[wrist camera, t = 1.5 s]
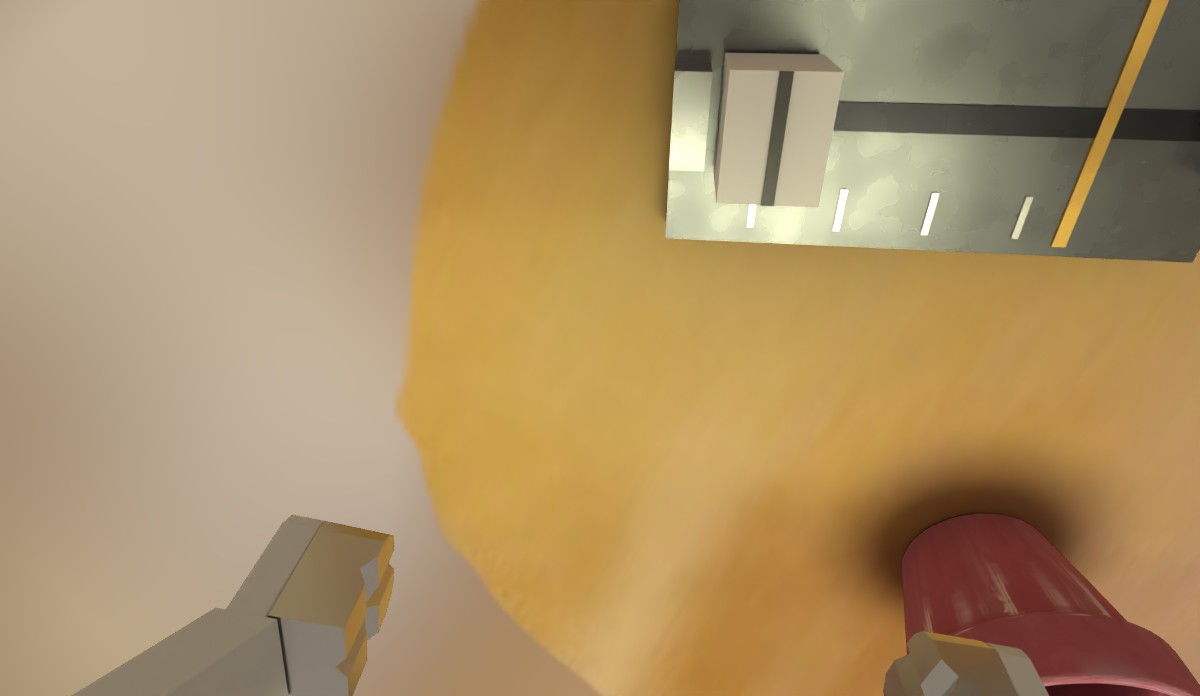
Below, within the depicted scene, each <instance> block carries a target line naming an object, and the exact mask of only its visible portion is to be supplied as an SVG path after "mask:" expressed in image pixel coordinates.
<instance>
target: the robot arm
mask: <svg viewBox="0 0 1200 696" xmlns="http://www.w3.org/2000/svg"><path fill="white" fill-rule="evenodd" d="M393 551H394V536H393V535H389V534H384V533H379V532H375V531H370V530H365V529H360V528H356V527H351V526H346V525H342V524H337V523H332V522H327V521H322V520H317V519H312V518H307V517H301V516H296V515H291V516H290V517H289V518H288V519H287V520H286V521H285V522H284V523H282V525H281V526H280V528H279V529H278V531H277V532H276V534H275V535H274V537H273V538H272V540H271V541H270V543H269V544H268V546H267V548H266V549H265V551H264V552H263V554H262V555H261V557H260V559H259V560H258V561H257V563H256V564H255V566H254V568H253V569H252V571H251V572H250V574H249V575H248V577H247V578H246V580H245V581H244V583H243V584H242V586H241V587H240V589H239V591H238V592H237V593H236V595H235V597H234V598H233V600H232V601H231V603H230V604H229V606H228V607H227V609H220V608H214V609H213V610H211V611H210V612H208V613H206V614H205V615H203V616H201V617H200V618H198V619H196V620H195V621H193V622H191V623H190V624H188V625H187V626H185V627H183V628H182V629H180V630H178V631H177V632H175V633H174V634H172V635H170V636H169V637H167V638H165V639H164V640H162V641H161V642H159V643H157V644H155V645H154V646H152V647H151V648H149V649H147V650H146V651H144V652H142V653H141V654H139V655H138V656H136V657H134V658H133V659H131V660H129V661H128V662H126V663H125V664H123V665H121V666H120V667H118V668H116V669H114V670H113V671H111V672H110V673H108V674H106V675H105V676H103V677H102V678H100V679H98V680H96V681H95V682H93V683H92V684H90V685H88V686H87V687H85V688H83V689H82V690H80V691H79V692H77V693H75V694H74V695H72V696H289V695H290V696H353V694H354V691H355V689H356V686H357V684H358V681H359V679H360V676H361V674H362V672H363V669H364V667H365V664H366V662H367V640H368V639H370V638H371V637H373V636H374V635H375V634H376V633H378V632H379V630H380V628H381V625H382V622H383V620H384V617H385V615H386V611H387V608H388V605H389V601H390V597H391V593H392V587H393V580H394V569H393V568H392V567H391V565H390V564H389V560H390V558H391V556H392V553H393ZM907 646H908V649H909V652H910V654H908V655H906V656H904V657H901V658H899V659H897V660H894V662H893V663H892V665H891V666H890V668H889V669H888V671H887V672H886V676H885V683H884V689H883V693H884V696H1049V694H1048V692H1047V690H1046V689H1045V687H1044V685H1043V683H1042V681H1041V679H1040V677H1039V675H1038V673H1037V671H1036V669H1035V667H1034V666H1033V664H1032V662H1031V660H1030V658H1029V657H1028V656H1027V655H1026V654H1025V653H1024V652H1023V651H1022V650H1021V649H1017V648H1013V647H1008V646H1002V645H996V644H990V643H984V642H982V641H978V640H973V639H967V638H961V637H955V636H949V635H943V634H937V633H931V632H925V631H922V632H919V633H916V634H914V635H913V636H912V638H911V639H910V640H909V641H908V643H907Z"/></svg>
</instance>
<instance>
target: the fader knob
mask: <svg viewBox="0 0 1200 696" xmlns="http://www.w3.org/2000/svg"><path fill="white" fill-rule="evenodd" d="M843 76H844V71H842V70H841V69H840V68H839V67H838V66H837V65H836V64H835V63H833V62H832V61H831V60H830V59H829V58H828V57H827V56H826V55H824V54H769V53H725V57H724V67H723V77H722V88H721V98H720V108H719V119H718V129H717V140H716V150H715V160H714V171H713V174H714V184H715V194H716V203H721V204H746V205H761V206H795V207H819V202H820V197H821V192H822V186H823V181H824V176H825V171H826V165H827V160H828V155H829V150H830V144H831V139H832V134H833V129H834V123H835V118H836V113H837V108H838V102H839V97H840V92H841V87H842V82H843Z"/></svg>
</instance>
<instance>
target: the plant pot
mask: <svg viewBox="0 0 1200 696" xmlns="http://www.w3.org/2000/svg"><path fill="white" fill-rule="evenodd" d="M902 579H903V593H904V613H905V631H906V646H907V643H908V641H909V640H910V639H911V638H912V636H913V635H914V634H916V633H919V632H922V631H925V632H931V633H937V634H943V635H949V636H955V637H961V638H967V639H973V640H978V641H982V642H984V643H990V644H996V645H1002V646H1008V647H1013V648H1017V649H1021V650H1022V651H1023V652H1024V653H1025V654H1026V655H1027V656H1028V657H1029V658H1030V660H1031V662H1032V664H1033V666H1034V667H1035V669H1036V671H1037V673H1038V675H1039V677H1040V679H1041V681H1042V683H1043V685H1044V687H1045V689H1046V690H1047V692H1048V694H1049V696H1200V685H1199V683H1198V682H1197V681H1196V679H1195V678H1194V676H1193V675H1192V674H1191V672H1190V671H1189V669H1188V668H1187V667H1186V665H1185V664H1184V663H1183V661H1182V660H1181V659H1180V657H1179V656H1178V655H1177V653H1176V652H1175V651H1174V650H1173V649H1172V648H1171V646H1170V645H1169V644H1168V643H1166V642H1165V641H1164V640H1163V639H1162V638H1160V637H1159V636H1157V635H1155V634H1154V633H1152V632H1151V631H1149V630H1147V629H1145V628H1142V627H1140V626H1138V625H1135V624H1133V623H1130V622H1128V621H1127V620H1126V619H1125V618H1124V617H1123V616H1122V615H1121V614H1120V613H1119V612H1118V611H1117V610H1116V609H1115V608H1114V607H1113V606H1112V605H1111V604H1110V603H1109V602H1108V601H1107V600H1106V599H1105V598H1104V597H1103V596H1102V595H1101V594H1100V593H1099V592H1098V591H1097V589H1096V588H1095V587H1094V586H1093V585H1092V584H1091V583H1090V582H1089V581H1088V580H1087V579H1086V578H1085V577H1084V576H1083V575H1082V574H1081V573H1080V572H1079V571H1078V570H1077V569H1076V568H1075V567H1074V566H1073V565H1072V564H1071V563H1070V562H1069V561H1068V560H1067V559H1066V558H1065V557H1064V556H1063V555H1062V554H1061V553H1060V552H1059V551H1058V550H1057V549H1056V548H1055V547H1054V546H1053V545H1052V544H1051V543H1050V542H1049V541H1048V540H1047V539H1046V538H1045V537H1044V536H1043V535H1042V534H1041V533H1040V532H1039V531H1038V530H1037V529H1036V528H1034V527H1033V526H1031V525H1030V524H1028V523H1026V522H1024V521H1022V520H1020V519H1017V518H1015V517H1011V516H1007V515H1000V514H983V513H982V514H971V515H964V516H959V517H955V518H951V519H948V520H946V521H943V522H941V523H938V524H936V525H934V526H932V527H930V528H929V529H927V530H925V531H924V532H923V533H921V534H920V535H919V536H918V537H916V538H915V539H914V540H913V541H912V543H911V544H910V545H909V546H908V548H907V550H906V551H905V553H904V556H903V559H902ZM908 654H910V652H909V649H908V646H907V655H908Z"/></svg>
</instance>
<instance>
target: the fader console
mask: <svg viewBox="0 0 1200 696" xmlns="http://www.w3.org/2000/svg"><path fill="white" fill-rule="evenodd" d="M725 53H769V54H824V55H826V56H827V57H828V58H829V59H830V60H831V61H832V62H833V63H835V64H836V65H837V66H838V67H839V68H840V69H841V70H842V71H844V76H843V82H842V87H841V92H840V97H839V102H838V108H837V113H836V118H835V123H834V129H833V134H832V139H831V144H830V150H829V155H828V160H827V165H826V171H825V176H824V181H823V186H822V192H821V197H820V202H819V207H795V206H761V205H746V204H721V203H716V194H715V184H714V174H713V171H714V160H715V150H716V140H717V129H718V119H719V108H720V98H721V88H722V77H723V67H724V57H725ZM665 238H672V239H694V240H716V241H737V242H759V243H780V244H802V245H824V246H845V247H867V248H889V249H910V250H932V251H954V252H975V253H997V254H1019V255H1040V256H1062V257H1083V258H1105V259H1127V260H1148V261H1170V262H1193V260H1194V259H1195V257H1196V255H1197V253H1198V251H1199V249H1200V0H679V13H678V30H677V47H676V63H675V74H674V91H673V108H672V125H671V142H670V159H669V182H668V199H667V216H666V233H665Z"/></svg>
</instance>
